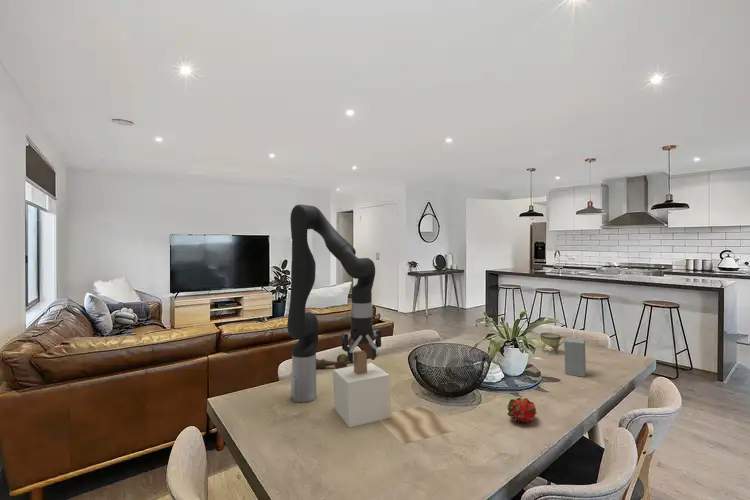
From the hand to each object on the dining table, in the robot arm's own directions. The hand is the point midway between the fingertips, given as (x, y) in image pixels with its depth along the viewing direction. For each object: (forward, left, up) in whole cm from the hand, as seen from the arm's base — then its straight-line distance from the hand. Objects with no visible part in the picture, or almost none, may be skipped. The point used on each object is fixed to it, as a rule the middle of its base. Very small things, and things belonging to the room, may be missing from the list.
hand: (361, 360), depth 133 cm
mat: (+13, -14, -19) cm, 27 cm away
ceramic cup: (+122, +23, -19) cm, 126 cm away
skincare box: (+104, -4, -20) cm, 106 cm away
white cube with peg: (0, 0, -19) cm, 19 cm away
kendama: (+6, +50, -20) cm, 54 cm away
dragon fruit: (+48, -27, -20) cm, 58 cm away
